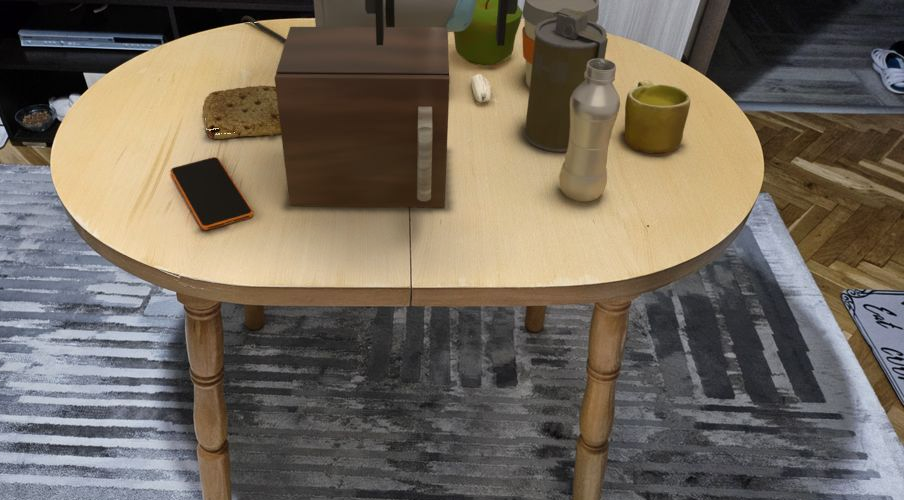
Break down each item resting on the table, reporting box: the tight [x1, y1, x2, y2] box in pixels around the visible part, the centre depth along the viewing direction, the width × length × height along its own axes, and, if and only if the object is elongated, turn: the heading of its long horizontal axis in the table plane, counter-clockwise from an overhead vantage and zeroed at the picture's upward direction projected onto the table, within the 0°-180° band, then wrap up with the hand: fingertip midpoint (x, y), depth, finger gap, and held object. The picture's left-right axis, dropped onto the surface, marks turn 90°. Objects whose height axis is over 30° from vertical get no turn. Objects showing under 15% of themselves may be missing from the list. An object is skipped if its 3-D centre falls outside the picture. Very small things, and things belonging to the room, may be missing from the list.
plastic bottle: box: [558, 58, 621, 202], centre depth 110 cm, size 6×7×20 cm
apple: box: [453, 0, 523, 67], centre depth 147 cm, size 12×12×11 cm
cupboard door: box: [274, 73, 451, 208], centre depth 105 cm, size 8×22×20 cm, turn 89°
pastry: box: [202, 85, 281, 140], centre depth 133 cm, size 17×17×3 cm
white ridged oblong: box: [471, 73, 492, 103], centre depth 138 cm, size 3×8×3 cm, turn 4°
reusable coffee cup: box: [521, 0, 600, 88], centre depth 138 cm, size 13×13×15 cm
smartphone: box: [169, 156, 254, 231], centre depth 116 cm, size 8×17×1 cm, turn 28°
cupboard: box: [275, 26, 450, 76], centre depth 114 cm, size 14×22×20 cm, turn 89°
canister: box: [523, 8, 609, 153], centre depth 122 cm, size 11×10×20 cm
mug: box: [624, 79, 691, 154], centre depth 126 cm, size 12×10×10 cm
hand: (440, 40), depth 91 cm, fingers open, 13 cm apart
